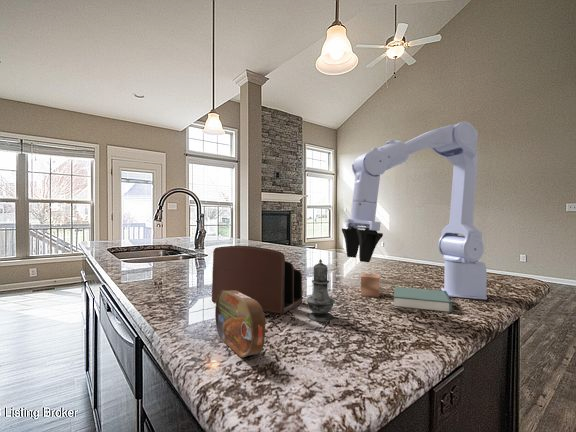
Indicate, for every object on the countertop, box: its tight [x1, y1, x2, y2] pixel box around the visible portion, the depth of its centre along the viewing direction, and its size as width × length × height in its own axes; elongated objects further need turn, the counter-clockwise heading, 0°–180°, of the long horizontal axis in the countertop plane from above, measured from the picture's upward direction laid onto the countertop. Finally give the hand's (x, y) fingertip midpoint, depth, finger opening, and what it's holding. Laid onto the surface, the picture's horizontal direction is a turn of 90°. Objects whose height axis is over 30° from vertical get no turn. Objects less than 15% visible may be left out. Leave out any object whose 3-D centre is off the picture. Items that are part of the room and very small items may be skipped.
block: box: [360, 273, 381, 298], centre depth 82 cm, size 4×4×5 cm
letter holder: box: [211, 245, 303, 315], centre depth 75 cm, size 10×20×14 cm, turn 62°
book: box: [393, 286, 453, 313], centre depth 74 cm, size 12×10×2 cm
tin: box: [214, 291, 267, 358], centre depth 51 cm, size 15×3×8 cm, turn 32°
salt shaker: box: [305, 259, 335, 323], centre depth 64 cm, size 6×6×12 cm
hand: (357, 259), depth 74 cm, fingers open, 7 cm apart
